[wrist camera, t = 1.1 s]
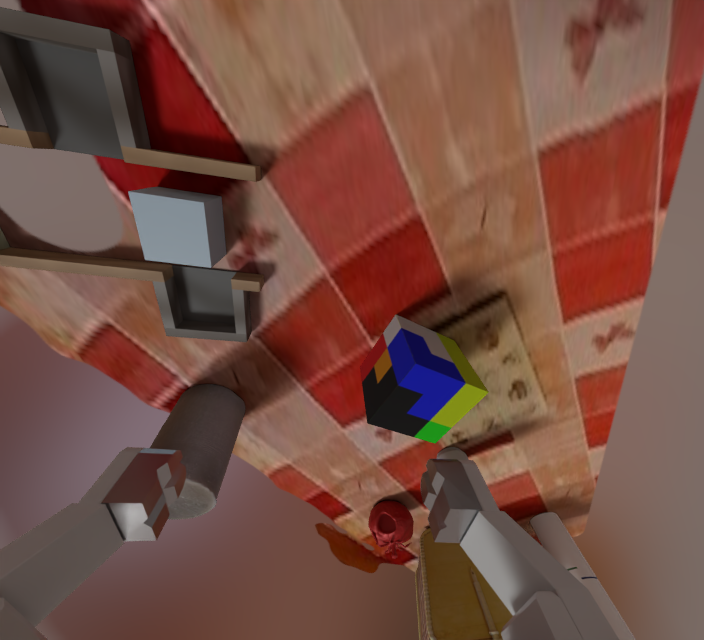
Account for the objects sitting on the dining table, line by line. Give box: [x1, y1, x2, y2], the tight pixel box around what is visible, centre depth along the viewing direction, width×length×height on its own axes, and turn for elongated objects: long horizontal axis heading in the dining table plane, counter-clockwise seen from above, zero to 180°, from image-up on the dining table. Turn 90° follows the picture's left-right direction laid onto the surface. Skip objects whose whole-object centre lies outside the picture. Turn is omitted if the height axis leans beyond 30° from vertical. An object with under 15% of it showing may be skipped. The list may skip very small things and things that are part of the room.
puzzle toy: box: [360, 315, 488, 443], centre depth 35 cm, size 10×10×10 cm
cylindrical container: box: [530, 512, 636, 640], centre depth 61 cm, size 7×7×25 cm
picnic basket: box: [415, 528, 513, 640], centre depth 64 cm, size 29×26×30 cm
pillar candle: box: [150, 384, 245, 519], centre depth 36 cm, size 10×10×15 cm
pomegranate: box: [369, 501, 414, 558], centre depth 59 cm, size 10×10×9 cm
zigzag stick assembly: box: [0, 7, 264, 342], centre depth 26 cm, size 27×27×4 cm
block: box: [128, 187, 226, 268], centre depth 26 cm, size 6×6×4 cm
